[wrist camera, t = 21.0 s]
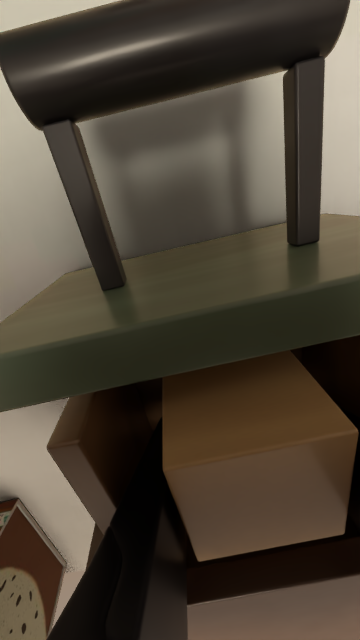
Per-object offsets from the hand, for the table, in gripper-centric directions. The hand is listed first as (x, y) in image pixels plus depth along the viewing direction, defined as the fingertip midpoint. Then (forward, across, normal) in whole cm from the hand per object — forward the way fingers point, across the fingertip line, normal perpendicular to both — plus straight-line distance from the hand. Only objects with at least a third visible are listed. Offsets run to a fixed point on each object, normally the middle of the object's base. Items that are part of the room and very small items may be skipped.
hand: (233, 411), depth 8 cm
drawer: (+4, 0, -2) cm, 4 cm away
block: (+1, 0, 0) cm, 1 cm away
